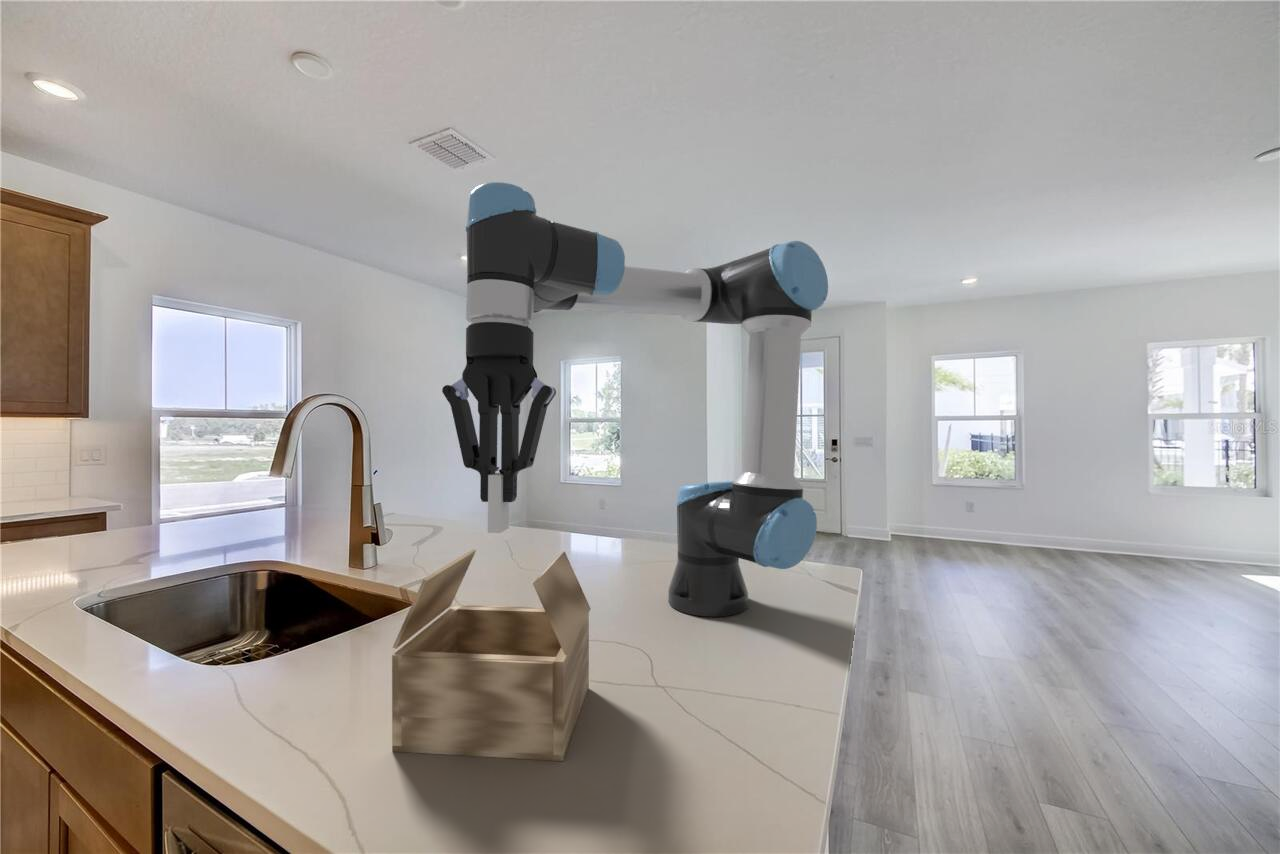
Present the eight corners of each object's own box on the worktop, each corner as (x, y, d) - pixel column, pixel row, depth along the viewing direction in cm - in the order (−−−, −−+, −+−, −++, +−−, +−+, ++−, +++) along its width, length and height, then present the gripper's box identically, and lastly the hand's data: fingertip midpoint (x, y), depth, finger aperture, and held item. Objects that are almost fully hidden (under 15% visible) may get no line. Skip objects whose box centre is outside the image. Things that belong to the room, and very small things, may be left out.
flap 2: (587, 609, 63) (590, 608, 63) (565, 655, 51) (568, 654, 51) (561, 552, 64) (564, 551, 64) (532, 583, 51) (536, 582, 51)
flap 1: (476, 550, 65) (473, 549, 65) (426, 580, 52) (423, 579, 52) (450, 605, 65) (448, 604, 65) (395, 648, 52) (392, 647, 52)
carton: (589, 685, 65) (589, 608, 65) (562, 764, 50) (562, 664, 50) (455, 680, 66) (455, 604, 66) (389, 754, 51) (389, 657, 51)
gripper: (563, 332, 61) (561, 525, 61) (460, 332, 62) (458, 522, 62) (547, 318, 53) (545, 539, 53) (429, 319, 54) (427, 535, 54)
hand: (498, 530), depth 58 cm, fingers closed
